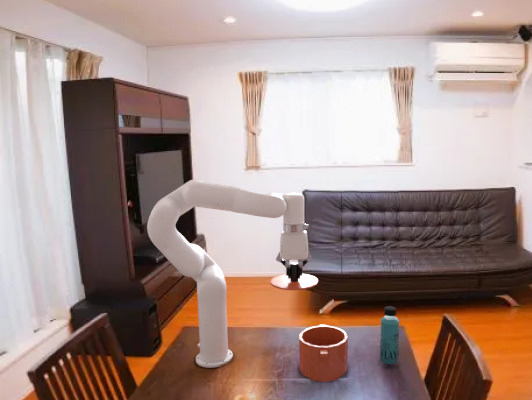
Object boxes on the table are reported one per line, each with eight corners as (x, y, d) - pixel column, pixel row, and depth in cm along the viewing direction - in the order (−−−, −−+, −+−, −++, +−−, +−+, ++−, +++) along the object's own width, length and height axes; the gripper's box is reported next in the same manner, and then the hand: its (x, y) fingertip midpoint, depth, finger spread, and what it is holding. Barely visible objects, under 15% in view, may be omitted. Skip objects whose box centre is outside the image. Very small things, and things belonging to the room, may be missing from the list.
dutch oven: (298, 386, 133) (298, 351, 131) (300, 353, 154) (300, 322, 153) (349, 386, 133) (350, 351, 132) (344, 352, 154) (345, 322, 153)
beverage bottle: (377, 366, 145) (378, 310, 142) (382, 357, 151) (383, 303, 148) (396, 370, 143) (397, 312, 140) (400, 360, 149) (401, 305, 146)
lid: (268, 292, 146) (268, 270, 145) (272, 276, 164) (272, 256, 162) (318, 291, 147) (318, 270, 146) (317, 276, 164) (317, 256, 163)
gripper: (316, 225, 156) (316, 274, 159) (271, 226, 156) (272, 274, 158) (317, 230, 149) (317, 280, 151) (270, 230, 148) (270, 281, 151)
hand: (294, 277), depth 155 cm, fingers closed on lid, 3 cm apart
